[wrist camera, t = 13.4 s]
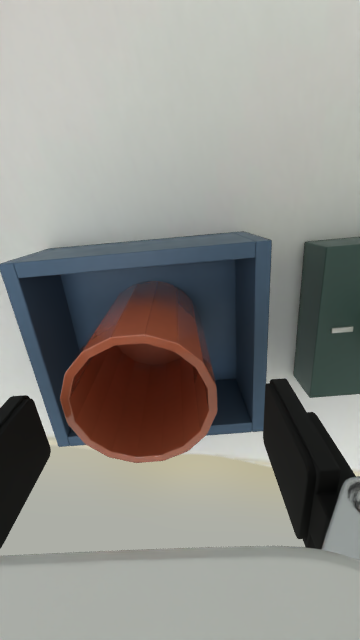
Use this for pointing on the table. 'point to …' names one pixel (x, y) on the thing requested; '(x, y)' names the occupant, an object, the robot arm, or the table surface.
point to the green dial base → (329, 319)
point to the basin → (139, 266)
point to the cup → (143, 377)
